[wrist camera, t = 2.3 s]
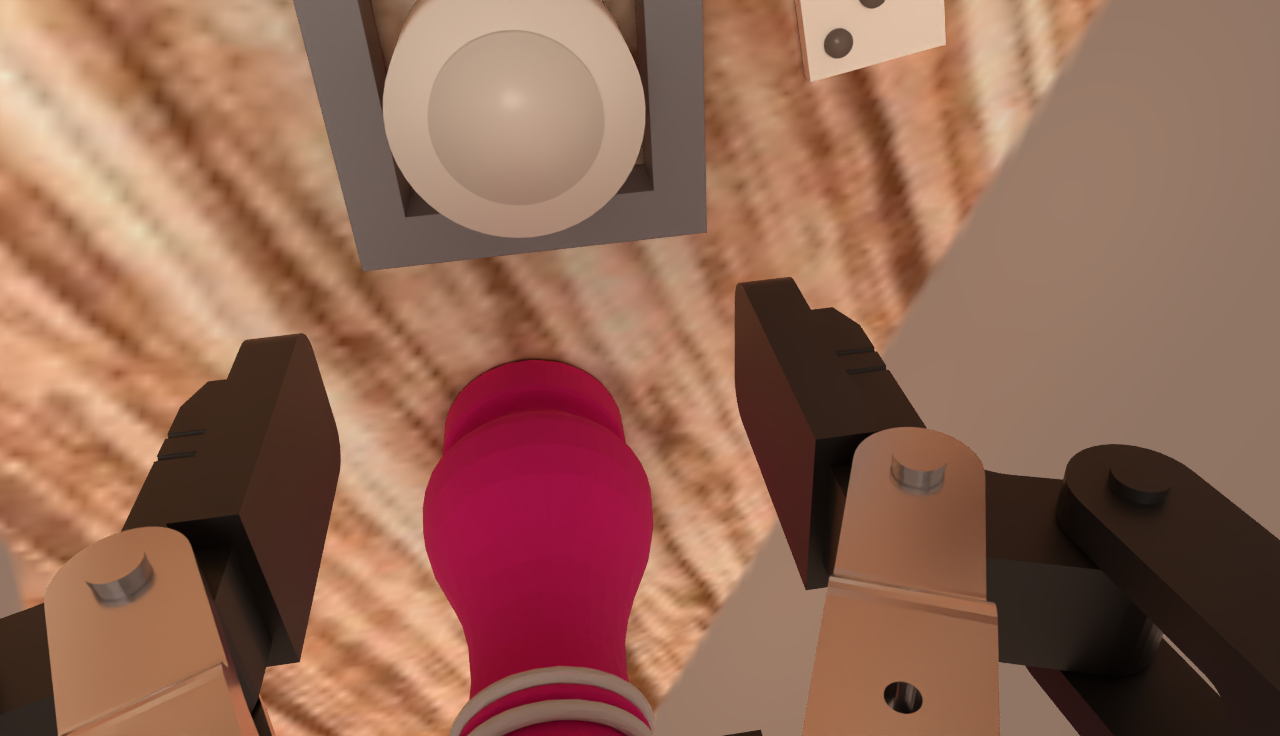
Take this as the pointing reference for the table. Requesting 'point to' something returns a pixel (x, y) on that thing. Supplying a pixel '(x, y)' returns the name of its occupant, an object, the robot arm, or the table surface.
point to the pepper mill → (541, 552)
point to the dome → (513, 111)
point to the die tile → (865, 32)
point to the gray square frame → (418, 234)
